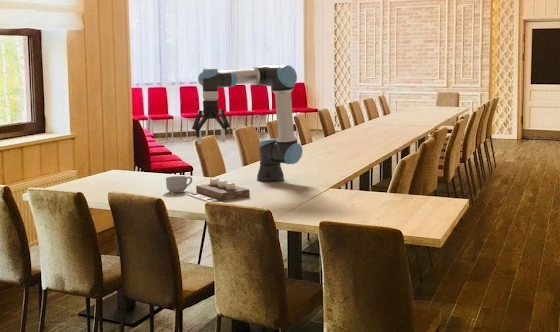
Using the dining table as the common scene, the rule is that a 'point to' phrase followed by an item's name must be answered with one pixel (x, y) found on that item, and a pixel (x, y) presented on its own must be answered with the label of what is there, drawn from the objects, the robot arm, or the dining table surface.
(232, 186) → the button
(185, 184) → the teacup
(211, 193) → the board
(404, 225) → the dining table surface
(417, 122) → the dining table surface
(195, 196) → the card
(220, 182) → the button
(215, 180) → the button
